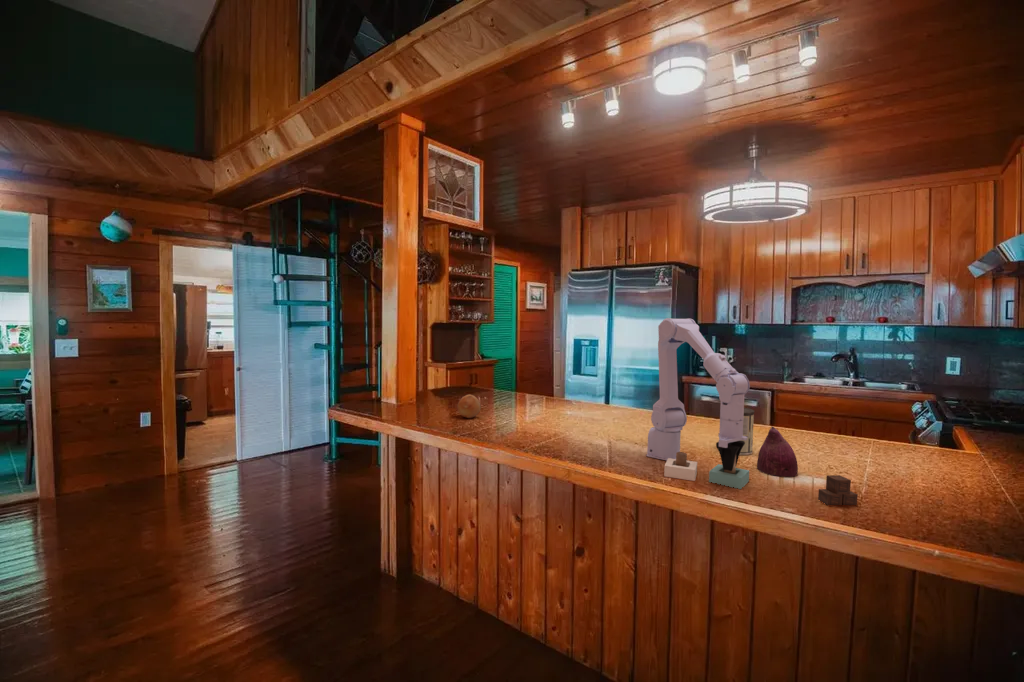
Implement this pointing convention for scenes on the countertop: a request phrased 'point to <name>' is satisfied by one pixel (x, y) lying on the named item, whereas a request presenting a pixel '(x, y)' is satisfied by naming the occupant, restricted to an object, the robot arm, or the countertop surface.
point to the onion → (469, 406)
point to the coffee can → (747, 431)
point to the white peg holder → (680, 470)
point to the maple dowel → (732, 469)
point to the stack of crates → (837, 491)
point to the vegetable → (777, 456)
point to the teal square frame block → (729, 477)
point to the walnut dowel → (681, 459)
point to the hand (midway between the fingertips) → (729, 468)
